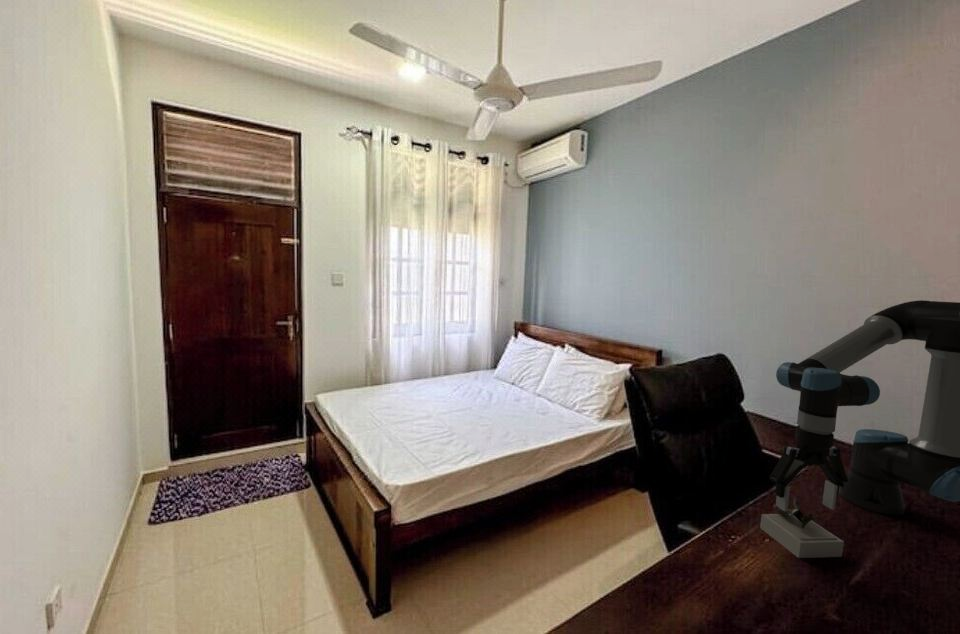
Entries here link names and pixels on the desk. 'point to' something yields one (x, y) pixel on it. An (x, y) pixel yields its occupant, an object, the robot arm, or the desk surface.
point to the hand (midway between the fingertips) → (804, 507)
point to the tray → (801, 536)
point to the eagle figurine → (798, 513)
